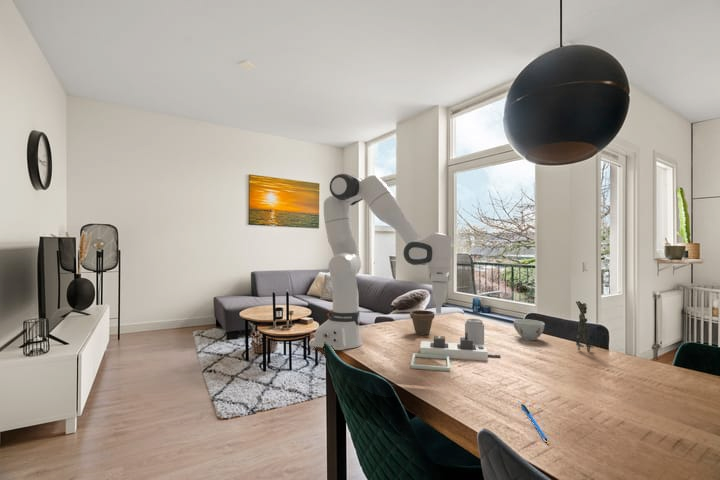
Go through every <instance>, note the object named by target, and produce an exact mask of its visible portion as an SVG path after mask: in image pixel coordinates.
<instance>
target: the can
mask: <svg viewBox="0 0 720 480" xmlns="http://www.w3.org/2000/svg"><path fill="white" fill-rule="evenodd" d="M465 332H467V333H468V338H472V340H473V344H476V345H485V324H484V323H483V320H482V319H479V318H467V319H466V321H465V322H464V333H465Z"/></svg>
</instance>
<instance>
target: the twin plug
mask: <svg viewBox="0 0 720 480" xmlns="http://www.w3.org/2000/svg"><path fill="white" fill-rule="evenodd" d="M459 340H460V341H459V343H460V349H464V350H473V340H472V338H468V333H467V332H465V331H464V337H459Z"/></svg>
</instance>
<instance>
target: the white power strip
mask: <svg viewBox="0 0 720 480" xmlns="http://www.w3.org/2000/svg"><path fill="white" fill-rule="evenodd" d="M419 354H432V355H446V356H449V359H462V360H476V361H488V359H489V358H494V359H501V354H489V353H488V350H487V347H486V345H485V344H484V345H476V344H473V350H464V349H460V342H459V343H457V342H445V348H434V341H427V340H421V341H420V347H419Z"/></svg>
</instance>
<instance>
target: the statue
mask: <svg viewBox="0 0 720 480" xmlns="http://www.w3.org/2000/svg"><path fill="white" fill-rule="evenodd" d="M575 304H576V305H577V307H578V310H579V312H580V313H579V315H578V319H579V322H578V325H577V334H576V336H575V337H576V339H575V340H576V342H575V344H576V347H577V351H581V348H583V347H586V351H587V352H590V351H591V348H592V349H593V348H595V347H594V346H592V345H590V344H589V341H588V337H587V328H586V323H587V322H588V318H587V317H585V316H586V315H585V314H587V311H588V306H587V303H586V302H585V303H584V302H583V303H582V302H581V300H580V301H577V300H576V301H575ZM581 335H582V337H583V341H584V343H585V345H584V344H581V343H580V338H581Z"/></svg>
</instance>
